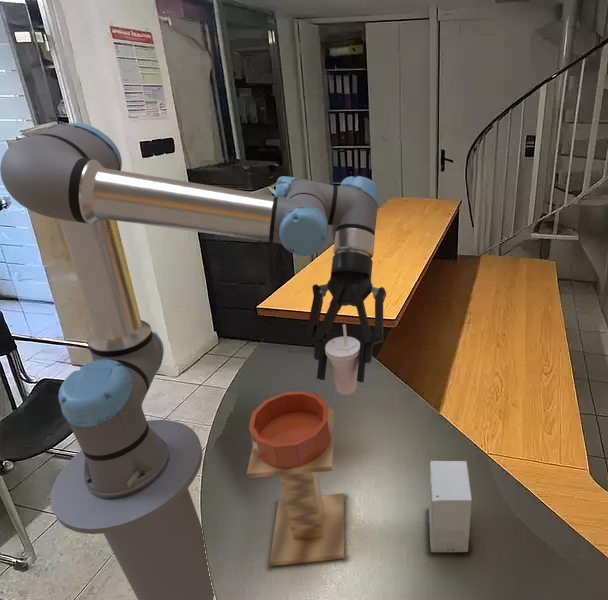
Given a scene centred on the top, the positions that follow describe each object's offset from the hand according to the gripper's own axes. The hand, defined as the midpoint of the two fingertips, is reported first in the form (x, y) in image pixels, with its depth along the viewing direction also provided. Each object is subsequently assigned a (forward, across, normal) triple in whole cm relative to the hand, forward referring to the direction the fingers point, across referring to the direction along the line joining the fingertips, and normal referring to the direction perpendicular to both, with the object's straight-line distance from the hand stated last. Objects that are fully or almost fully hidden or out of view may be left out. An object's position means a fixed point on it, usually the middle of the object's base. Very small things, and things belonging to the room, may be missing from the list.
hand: (340, 380), depth 85 cm
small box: (+24, -20, -8) cm, 32 cm away
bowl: (+10, +4, +9) cm, 14 cm away
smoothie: (+1, 0, -6) cm, 6 cm away
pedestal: (+26, +4, -6) cm, 27 cm away
